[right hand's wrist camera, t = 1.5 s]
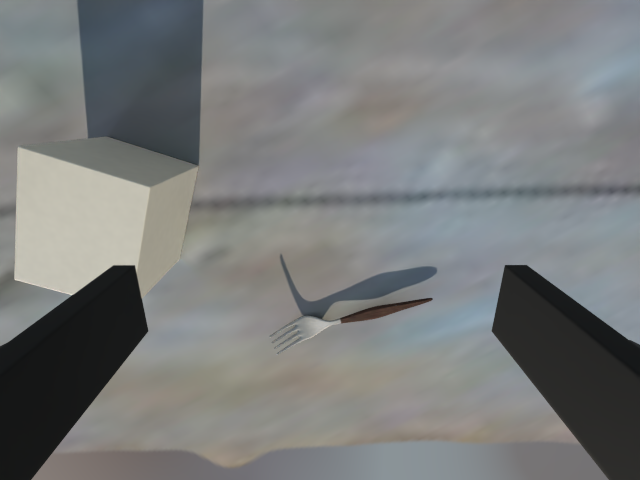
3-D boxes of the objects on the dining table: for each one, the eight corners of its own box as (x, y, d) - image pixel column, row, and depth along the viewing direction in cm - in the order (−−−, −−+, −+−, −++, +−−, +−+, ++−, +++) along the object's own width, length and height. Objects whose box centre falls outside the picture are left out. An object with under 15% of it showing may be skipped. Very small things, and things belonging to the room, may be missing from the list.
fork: (433, 307, 34) (439, 318, 32) (279, 344, 36) (277, 356, 34) (428, 284, 33) (435, 295, 31) (271, 323, 35) (268, 335, 33)
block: (95, 235, 32) (13, 279, 23) (106, 136, 29) (17, 145, 20) (179, 259, 33) (130, 311, 24) (199, 165, 30) (150, 186, 21)
